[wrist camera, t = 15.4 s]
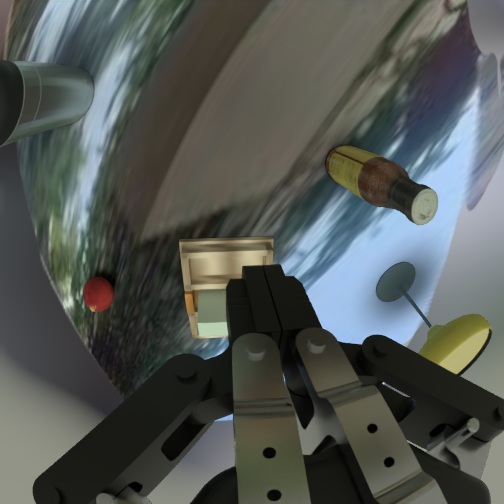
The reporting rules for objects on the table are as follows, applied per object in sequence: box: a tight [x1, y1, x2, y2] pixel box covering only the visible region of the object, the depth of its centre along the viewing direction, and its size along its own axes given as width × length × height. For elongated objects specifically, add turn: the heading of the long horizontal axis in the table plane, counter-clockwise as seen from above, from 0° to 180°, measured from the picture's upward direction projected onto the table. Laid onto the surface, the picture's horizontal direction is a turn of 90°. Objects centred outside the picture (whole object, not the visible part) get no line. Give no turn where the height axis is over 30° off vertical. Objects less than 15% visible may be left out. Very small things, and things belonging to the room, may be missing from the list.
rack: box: [179, 236, 274, 338], centre depth 47 cm, size 15×20×4 cm
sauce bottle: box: [326, 145, 438, 225], centre depth 31 cm, size 7×6×20 cm
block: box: [197, 289, 228, 337], centre depth 44 cm, size 10×3×9 cm, turn 88°
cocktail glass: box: [376, 262, 492, 376], centre depth 44 cm, size 18×18×25 cm
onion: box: [83, 277, 114, 312], centre depth 42 cm, size 6×6×8 cm
